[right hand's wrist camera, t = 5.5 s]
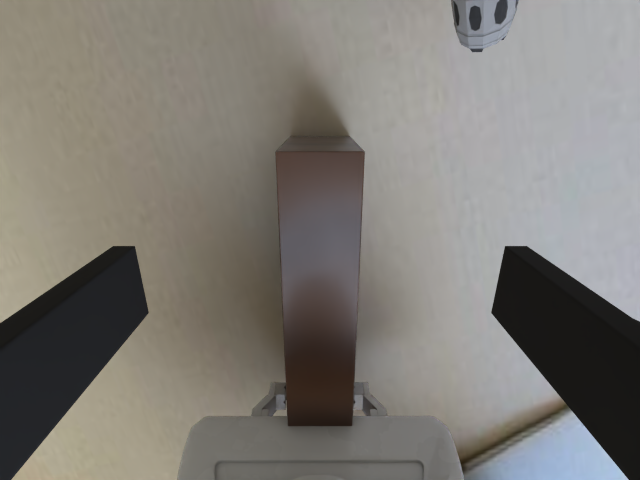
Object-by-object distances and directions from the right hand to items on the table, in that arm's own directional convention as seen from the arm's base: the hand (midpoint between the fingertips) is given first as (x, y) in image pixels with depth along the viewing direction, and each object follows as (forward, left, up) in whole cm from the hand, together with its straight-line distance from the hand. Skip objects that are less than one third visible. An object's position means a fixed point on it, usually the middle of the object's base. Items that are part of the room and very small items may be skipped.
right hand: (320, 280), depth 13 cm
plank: (+10, 0, -19) cm, 21 cm away
